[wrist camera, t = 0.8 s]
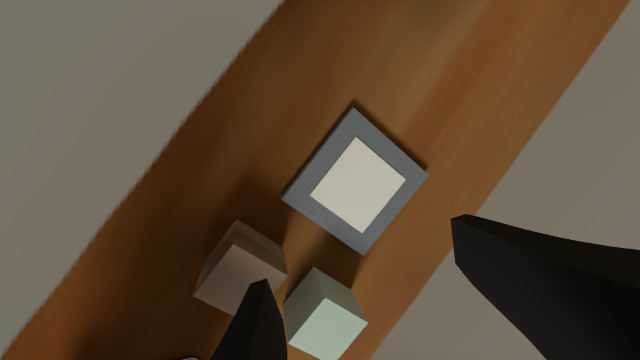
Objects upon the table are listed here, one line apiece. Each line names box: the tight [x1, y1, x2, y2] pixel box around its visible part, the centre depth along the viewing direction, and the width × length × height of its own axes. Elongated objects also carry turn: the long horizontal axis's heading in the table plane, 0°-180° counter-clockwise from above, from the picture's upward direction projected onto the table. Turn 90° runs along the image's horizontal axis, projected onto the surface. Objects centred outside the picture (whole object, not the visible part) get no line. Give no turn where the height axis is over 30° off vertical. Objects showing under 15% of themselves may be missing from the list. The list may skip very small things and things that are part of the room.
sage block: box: [282, 267, 368, 360], centre depth 22 cm, size 4×4×4 cm
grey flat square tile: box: [281, 107, 429, 256], centre depth 22 cm, size 8×8×1 cm
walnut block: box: [193, 219, 288, 316], centre depth 20 cm, size 4×4×4 cm
